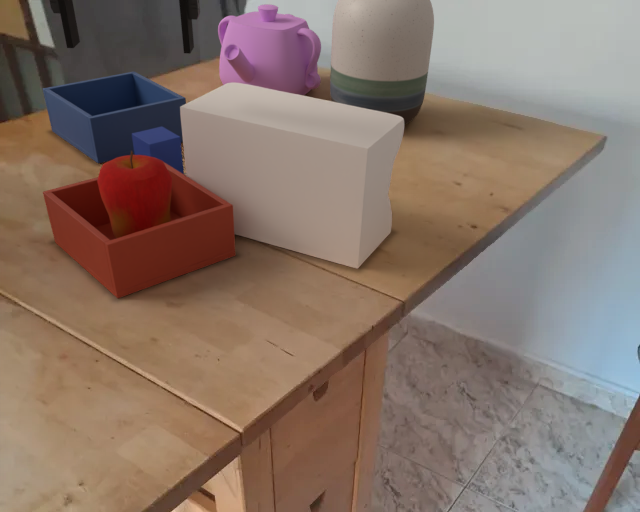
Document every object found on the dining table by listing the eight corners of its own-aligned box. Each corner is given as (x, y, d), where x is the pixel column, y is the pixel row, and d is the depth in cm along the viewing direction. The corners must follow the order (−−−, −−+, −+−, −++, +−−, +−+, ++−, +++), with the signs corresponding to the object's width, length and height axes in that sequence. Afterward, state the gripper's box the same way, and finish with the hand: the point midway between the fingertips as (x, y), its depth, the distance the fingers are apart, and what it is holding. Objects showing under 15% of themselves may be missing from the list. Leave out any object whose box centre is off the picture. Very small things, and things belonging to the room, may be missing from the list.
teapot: (306, 73, 144) (308, -7, 134) (329, 106, 129) (332, 20, 119) (215, 75, 141) (210, -6, 131) (227, 110, 126) (222, 22, 116)
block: (138, 181, 102) (131, 133, 98) (167, 173, 105) (162, 126, 100) (155, 193, 100) (149, 144, 95) (185, 184, 102) (180, 136, 97)
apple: (171, 223, 91) (160, 133, 83) (184, 254, 86) (174, 159, 78) (105, 232, 89) (87, 140, 81) (114, 264, 83) (96, 168, 75)
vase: (310, 113, 126) (314, -43, 110) (383, 99, 134) (397, -50, 117) (364, 143, 116) (378, -23, 100) (440, 127, 124) (464, -31, 107)
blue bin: (52, 131, 116) (42, 88, 111) (139, 112, 124) (134, 71, 119) (98, 163, 107) (89, 118, 102) (189, 140, 115) (185, 97, 110)
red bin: (55, 242, 88) (42, 191, 84) (167, 208, 96) (161, 160, 92) (117, 298, 79) (107, 245, 75) (235, 255, 87) (233, 204, 83)
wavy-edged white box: (409, 212, 98) (423, 102, 88) (357, 268, 86) (367, 149, 76) (257, 174, 106) (254, 69, 95) (190, 221, 94) (179, 106, 83)
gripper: (231, -191, 69) (240, 43, 84) (-17, -202, 69) (35, 34, 83) (221, -189, 64) (233, 61, 78) (-48, -202, 63) (14, 51, 78)
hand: (131, 48), depth 81 cm, fingers open, 13 cm apart
